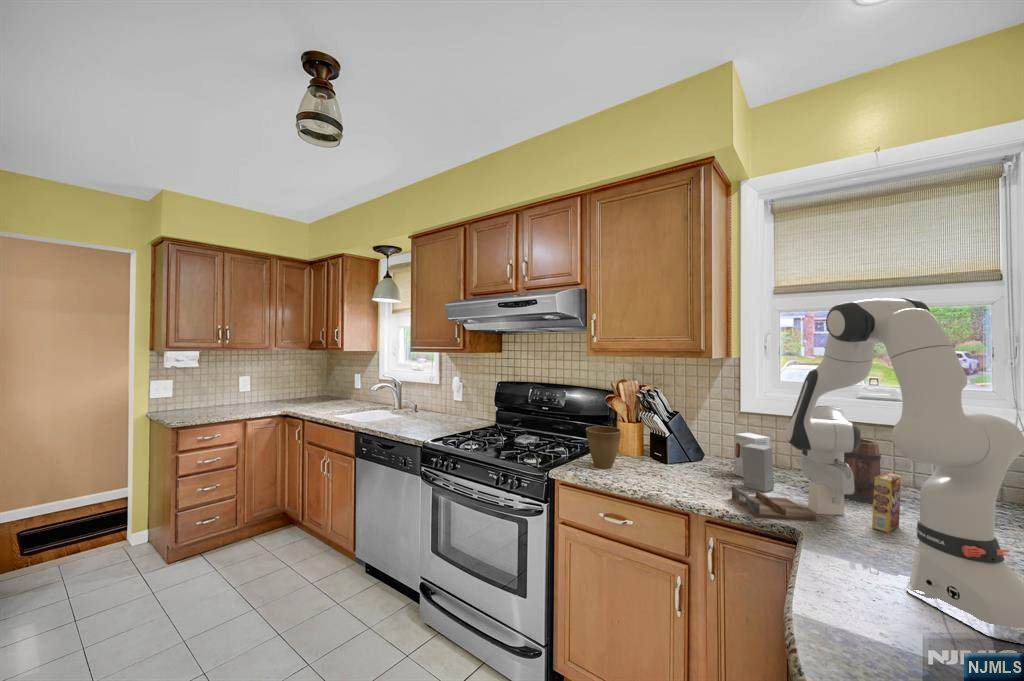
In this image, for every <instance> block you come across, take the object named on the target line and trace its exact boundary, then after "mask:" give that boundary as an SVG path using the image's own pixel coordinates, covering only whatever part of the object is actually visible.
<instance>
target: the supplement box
mask: <svg viewBox="0 0 1024 681" xmlns="http://www.w3.org/2000/svg"><path fill="white" fill-rule="evenodd" d="M748 444H756V445H761V446H767V447H771V446H770V444H771V437H769V436H765V435H761V434H756V433H752V432H742V433H741V432H740V433H735V434H734V456H733V459H734V460H733V475H735V474H736V476H738V475H739V476H738V477H741V476H742V477H741V478H743V456H742V446H744V445H748Z"/></svg>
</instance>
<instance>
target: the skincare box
mask: <svg viewBox="0 0 1024 681" xmlns="http://www.w3.org/2000/svg"><path fill="white" fill-rule="evenodd" d="M742 456H743V477H742V479H743V487H744V486H745V488H748V489H752V490H755V491H760V492H762V493H767V492H769V491H772V490H774V489H775V484H774V483H775V480H774V479H775V478H774V463H773V462H774V460H773V447H772V446H770V447H767V446H761V445H756V444H748V445H744V446H742Z"/></svg>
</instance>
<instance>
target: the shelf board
mask: <svg viewBox="0 0 1024 681" xmlns="http://www.w3.org/2000/svg"><path fill="white" fill-rule="evenodd" d="M731 500H733V501H734V502H735V503H737V505H738V506H740V507H741V508H743V509H744V510H745V511H746V512H747V513H749V514H750V515H752V516H753V517H754V518H759V519H776V520H777V519H779V520H799V521H800V520H801V521H817V516H816V515H815V514H813V513H811V512H810V511H808V510H806V509H805V508H803V507H801V505H799V504H797V503H795V502H794V501H792V500H791V499H789V498H787V497H777V496H776V497H774V496H768V495H766V494H764V492H763V491H759V490H755V496H754V495H753V496H752V495H748V494H747V493H745V491H743V490H741V489H740V488H739V487H737V485H732V486H731Z"/></svg>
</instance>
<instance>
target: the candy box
mask: <svg viewBox="0 0 1024 681" xmlns="http://www.w3.org/2000/svg"><path fill="white" fill-rule="evenodd" d="M901 486H902V476H901V475H898V474H893V473H888V472H884V473H882V474H881V475H878V476H875V480H874V499H873V504H872V517H871V518H872V519H871V520H872V522H871V528H872V529H874V530H879V531H880V532H885V533H888V534H889V533H890V532H892V531H893V530H895V529H897V528H899V527H900V515H901V514H900V511H901V491H902V490H901Z"/></svg>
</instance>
